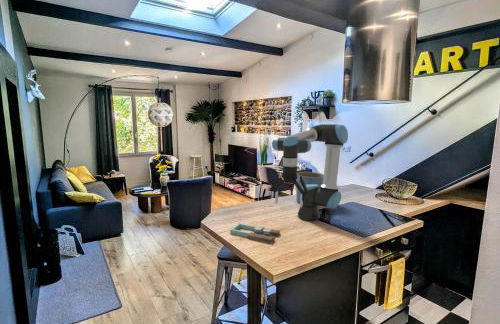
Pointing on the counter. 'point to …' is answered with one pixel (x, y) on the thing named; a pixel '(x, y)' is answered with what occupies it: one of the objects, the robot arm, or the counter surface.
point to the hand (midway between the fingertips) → (288, 204)
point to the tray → (241, 233)
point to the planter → (309, 181)
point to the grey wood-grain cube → (267, 232)
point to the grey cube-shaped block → (258, 230)
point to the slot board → (264, 236)
